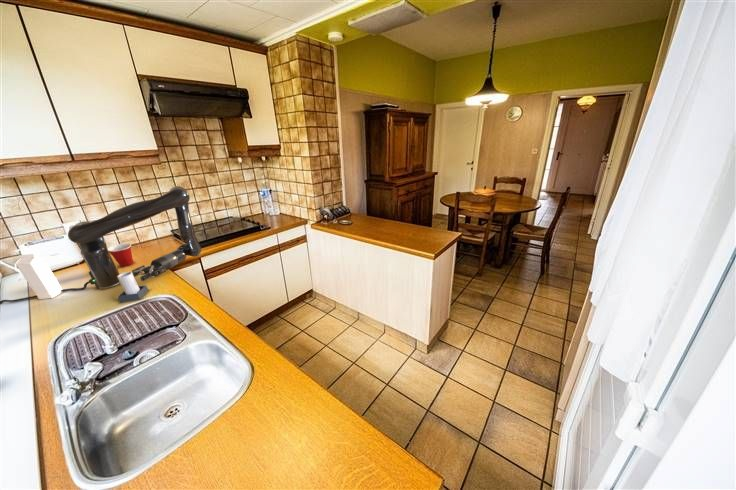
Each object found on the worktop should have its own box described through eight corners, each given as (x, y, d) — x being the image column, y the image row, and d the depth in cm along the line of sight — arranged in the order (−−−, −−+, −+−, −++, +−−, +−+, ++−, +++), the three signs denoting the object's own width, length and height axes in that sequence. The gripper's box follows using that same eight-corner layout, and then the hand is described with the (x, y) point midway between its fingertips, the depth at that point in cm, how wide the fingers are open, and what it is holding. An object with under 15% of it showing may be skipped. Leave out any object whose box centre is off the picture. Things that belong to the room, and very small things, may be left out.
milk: (52, 298, 127) (26, 257, 118) (38, 299, 127) (11, 258, 118) (64, 291, 133) (40, 251, 124) (51, 292, 132) (26, 252, 123)
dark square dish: (120, 302, 120) (117, 297, 119) (129, 293, 127) (127, 288, 126) (140, 299, 122) (137, 293, 120) (148, 290, 129) (146, 285, 127)
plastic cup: (125, 269, 152) (116, 250, 147) (110, 268, 154) (101, 249, 149) (143, 261, 161) (135, 243, 157) (129, 260, 164) (121, 242, 159)
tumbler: (124, 299, 121) (114, 278, 117) (131, 293, 126) (121, 272, 121) (137, 296, 122) (127, 276, 118) (143, 291, 127) (134, 270, 122)
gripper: (151, 255, 138) (118, 270, 124) (173, 257, 135) (143, 272, 121) (156, 268, 141) (125, 284, 127) (178, 269, 138) (149, 286, 124)
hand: (134, 278), depth 124 cm, fingers open, 8 cm apart
